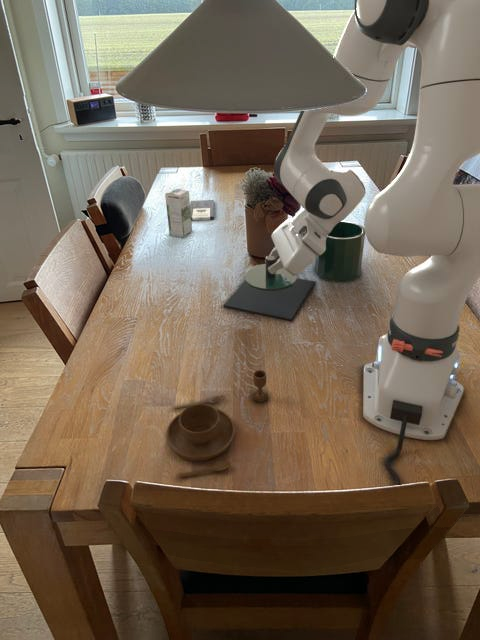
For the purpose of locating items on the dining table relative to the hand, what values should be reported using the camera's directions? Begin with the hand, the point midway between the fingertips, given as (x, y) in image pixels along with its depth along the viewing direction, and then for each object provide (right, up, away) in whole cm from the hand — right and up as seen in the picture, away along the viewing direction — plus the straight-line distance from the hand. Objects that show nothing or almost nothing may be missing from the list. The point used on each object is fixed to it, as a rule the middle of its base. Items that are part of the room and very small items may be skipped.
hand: (268, 267), depth 119 cm
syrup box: (-27, +16, +41) cm, 52 cm away
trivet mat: (+1, -7, +4) cm, 8 cm away
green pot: (+20, +1, +14) cm, 25 cm away
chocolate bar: (-21, +28, +57) cm, 67 cm away
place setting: (-10, -33, -35) cm, 49 cm away
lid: (+1, -2, +2) cm, 3 cm away
